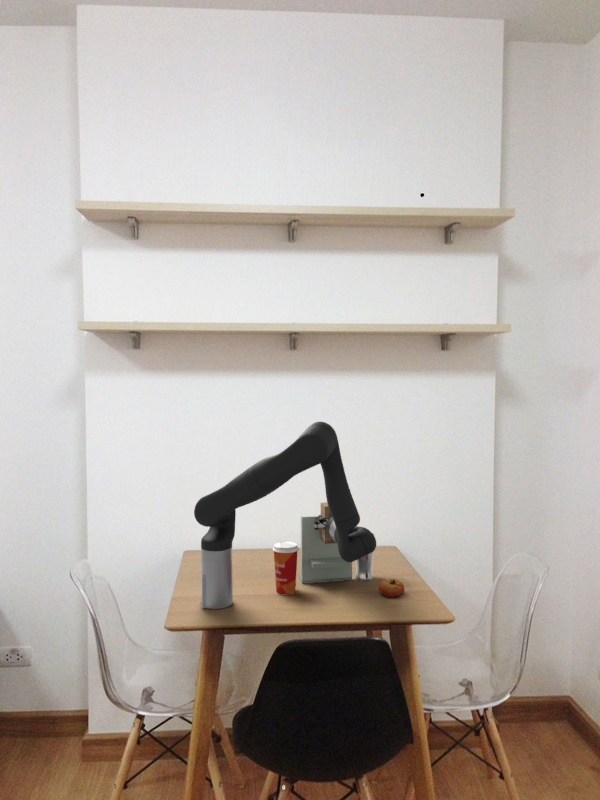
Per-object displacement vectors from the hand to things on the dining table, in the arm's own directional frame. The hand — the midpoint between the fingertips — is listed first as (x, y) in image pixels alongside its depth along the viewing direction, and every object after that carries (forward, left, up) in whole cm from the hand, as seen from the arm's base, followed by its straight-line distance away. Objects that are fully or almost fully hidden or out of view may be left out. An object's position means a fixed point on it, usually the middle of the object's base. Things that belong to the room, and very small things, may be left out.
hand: (328, 517), depth 206 cm
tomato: (+17, -14, -22) cm, 31 cm away
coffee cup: (-15, -5, -22) cm, 27 cm away
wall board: (0, +1, -22) cm, 22 cm away
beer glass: (+13, +2, -22) cm, 26 cm away
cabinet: (0, -3, -7) cm, 7 cm away
